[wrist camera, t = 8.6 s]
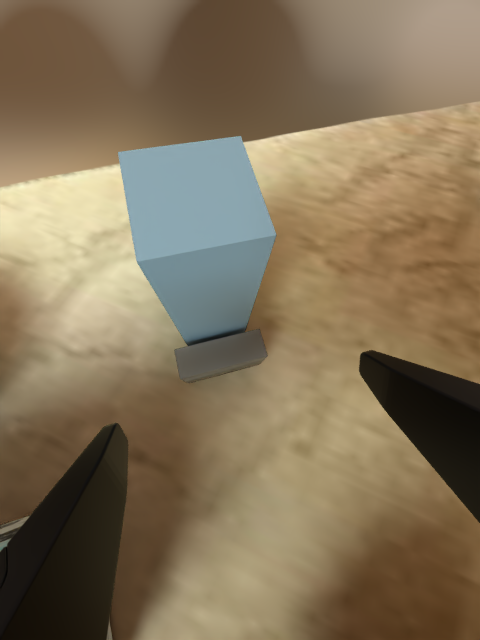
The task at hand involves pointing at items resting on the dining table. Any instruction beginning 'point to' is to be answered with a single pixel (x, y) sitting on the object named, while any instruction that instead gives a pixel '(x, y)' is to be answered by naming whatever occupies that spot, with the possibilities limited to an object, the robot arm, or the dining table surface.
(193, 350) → the rail
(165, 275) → the block
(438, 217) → the dining table surface
